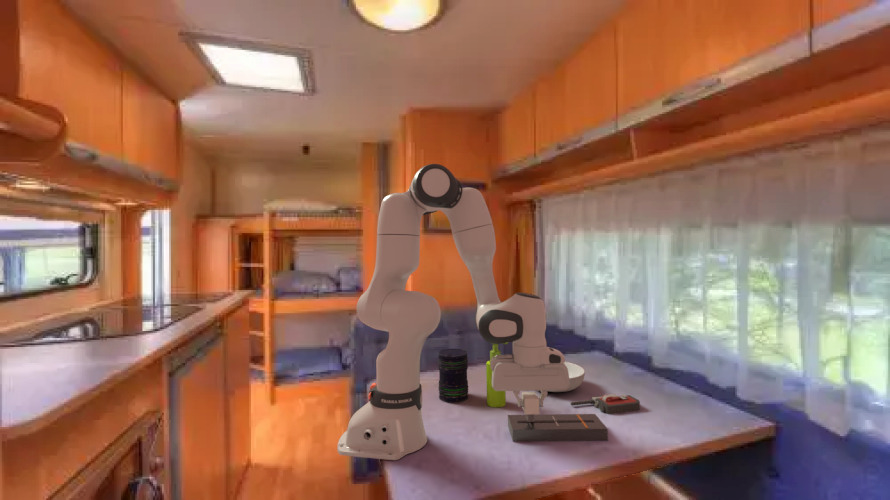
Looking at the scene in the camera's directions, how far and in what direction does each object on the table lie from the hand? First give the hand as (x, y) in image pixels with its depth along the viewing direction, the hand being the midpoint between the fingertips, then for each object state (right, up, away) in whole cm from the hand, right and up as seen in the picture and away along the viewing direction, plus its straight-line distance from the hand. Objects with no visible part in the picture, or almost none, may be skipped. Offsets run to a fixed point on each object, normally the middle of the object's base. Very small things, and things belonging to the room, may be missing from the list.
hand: (530, 406), depth 106 cm
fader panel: (+7, -7, 0) cm, 10 cm away
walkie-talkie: (+26, -7, +15) cm, 31 cm away
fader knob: (0, -4, 0) cm, 4 cm away
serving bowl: (+15, -7, +34) cm, 38 cm away
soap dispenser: (-6, -7, +20) cm, 22 cm away
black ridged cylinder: (-20, -8, +26) cm, 34 cm away
